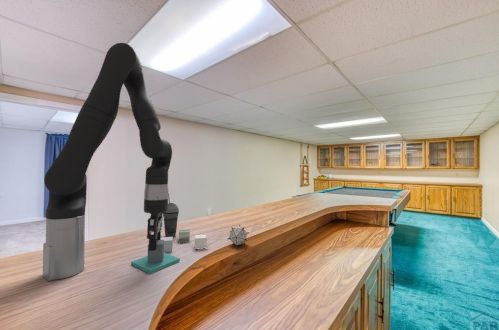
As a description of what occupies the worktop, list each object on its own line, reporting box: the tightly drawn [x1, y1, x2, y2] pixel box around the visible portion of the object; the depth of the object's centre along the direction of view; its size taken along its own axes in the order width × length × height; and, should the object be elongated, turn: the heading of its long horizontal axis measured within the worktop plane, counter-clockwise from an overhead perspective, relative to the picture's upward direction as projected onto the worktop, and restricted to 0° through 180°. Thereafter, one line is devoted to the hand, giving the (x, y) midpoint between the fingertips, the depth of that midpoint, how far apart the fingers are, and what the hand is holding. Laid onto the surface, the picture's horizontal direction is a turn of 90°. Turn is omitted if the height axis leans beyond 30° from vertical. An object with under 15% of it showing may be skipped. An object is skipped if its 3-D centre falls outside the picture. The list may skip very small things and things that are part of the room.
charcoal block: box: [147, 240, 164, 264], centre depth 75 cm, size 4×4×6 cm
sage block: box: [178, 228, 191, 243], centre depth 98 cm, size 4×4×4 cm
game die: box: [227, 224, 250, 248], centre depth 93 cm, size 9×8×10 cm
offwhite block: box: [194, 234, 208, 250], centre depth 90 cm, size 4×4×4 cm
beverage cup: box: [162, 193, 180, 239], centre depth 103 cm, size 7×7×20 cm
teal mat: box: [130, 252, 181, 275], centre depth 75 cm, size 11×11×1 cm
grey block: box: [161, 236, 174, 253], centre depth 86 cm, size 4×4×4 cm
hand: (154, 245), depth 74 cm, fingers open, 8 cm apart
